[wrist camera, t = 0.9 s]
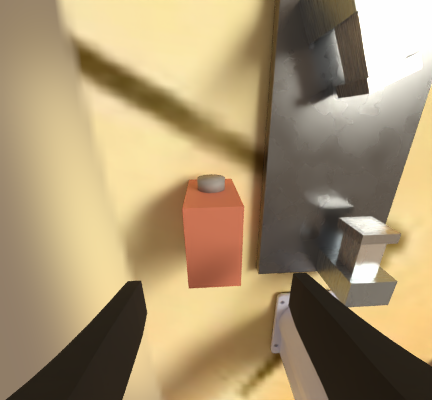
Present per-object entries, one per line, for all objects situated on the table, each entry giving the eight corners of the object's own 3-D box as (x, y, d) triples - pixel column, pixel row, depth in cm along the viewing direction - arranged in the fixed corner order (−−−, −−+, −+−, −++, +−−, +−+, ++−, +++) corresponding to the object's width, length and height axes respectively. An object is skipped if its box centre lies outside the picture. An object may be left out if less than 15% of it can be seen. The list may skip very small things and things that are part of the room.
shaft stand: (363, 261, 22) (413, 306, 17) (256, 267, 21) (272, 314, 16) (463, -64, 13) (641, -188, 7) (280, -68, 12) (336, -206, 7)
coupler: (230, 245, 20) (240, 294, 14) (193, 247, 20) (189, 297, 14) (231, 169, 17) (244, 193, 12) (188, 170, 17) (181, 195, 12)
